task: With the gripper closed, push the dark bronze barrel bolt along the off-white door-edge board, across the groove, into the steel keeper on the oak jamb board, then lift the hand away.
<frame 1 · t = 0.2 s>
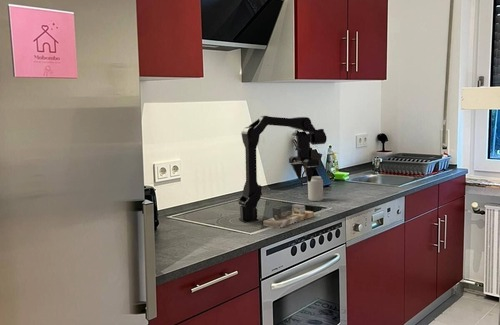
hand: (304, 180, 218), 14 cm above the worktop, fingers open, 9 cm apart
keeper: (298, 209, 209), on the door jamb, point 4 cm above the worktop
bolt: (283, 211, 202), point 5 cm above the worktop, slide at 0.0 cm
can: (315, 200, 245), on the worktop
door jamb: (289, 220, 205), on the worktop
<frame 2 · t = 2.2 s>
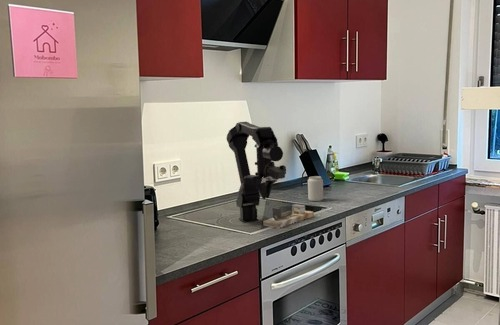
hand: (265, 198, 193), 12 cm above the worktop, fingers closed
nothing on the worktop moved.
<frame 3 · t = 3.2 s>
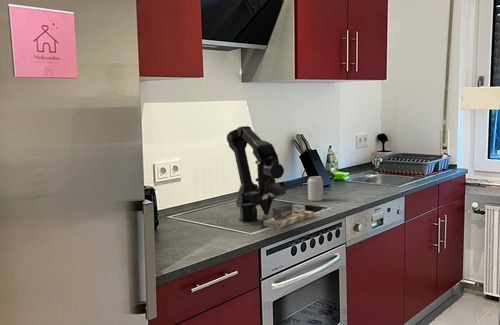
hand: (266, 214, 194), 6 cm above the worktop, fingers closed
nothing on the worktop moved.
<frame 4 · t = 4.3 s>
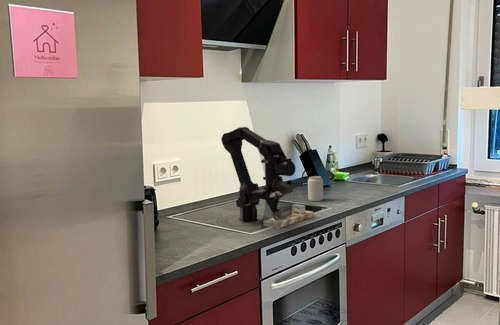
hand: (273, 212, 197), 5 cm above the worktop, fingers closed
bolt: (283, 211, 202), point 5 cm above the worktop, slide at 0.0 cm, touching gripper
everything else where it was.
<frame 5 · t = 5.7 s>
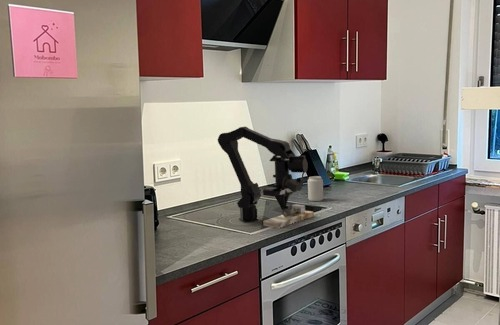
hand: (283, 209, 202), 6 cm above the worktop, fingers closed
bolt: (292, 209, 206), point 5 cm above the worktop, slide at 6.2 cm, touching gripper
everything else where it was.
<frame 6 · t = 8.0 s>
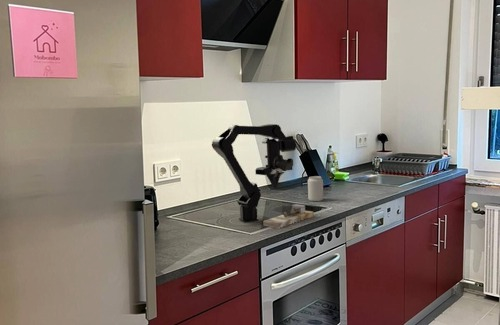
hand: (275, 188, 215), 12 cm above the worktop, fingers closed
bolt: (292, 209, 206), point 5 cm above the worktop, slide at 6.3 cm
everything else where it was.
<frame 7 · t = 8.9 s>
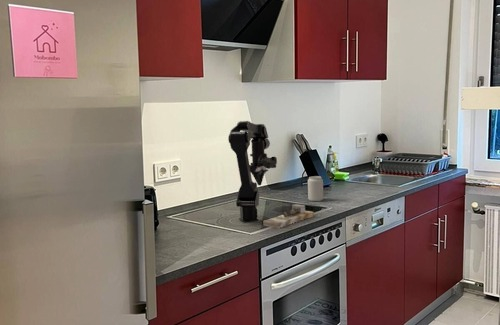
hand: (259, 185, 226), 12 cm above the worktop, fingers closed
nothing on the worktop moved.
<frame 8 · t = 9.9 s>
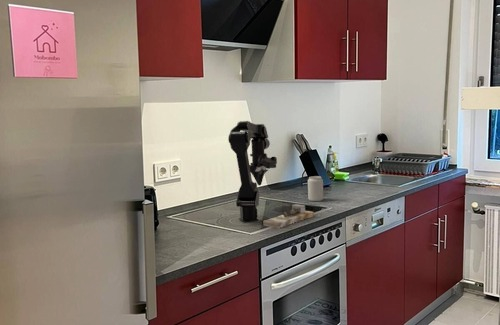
hand: (259, 185, 226), 12 cm above the worktop, fingers closed
nothing on the worktop moved.
at the end: bolt slide at 6.3 cm; the gripper is holding nothing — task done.
